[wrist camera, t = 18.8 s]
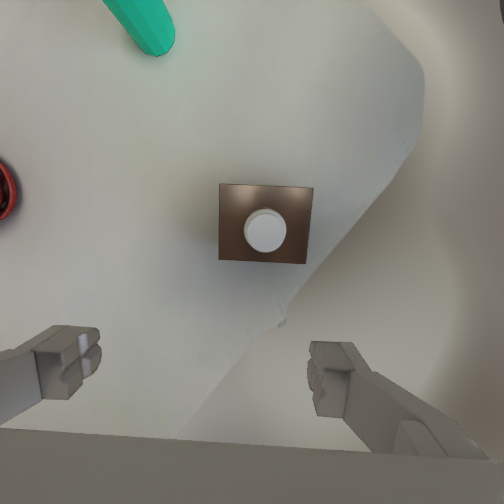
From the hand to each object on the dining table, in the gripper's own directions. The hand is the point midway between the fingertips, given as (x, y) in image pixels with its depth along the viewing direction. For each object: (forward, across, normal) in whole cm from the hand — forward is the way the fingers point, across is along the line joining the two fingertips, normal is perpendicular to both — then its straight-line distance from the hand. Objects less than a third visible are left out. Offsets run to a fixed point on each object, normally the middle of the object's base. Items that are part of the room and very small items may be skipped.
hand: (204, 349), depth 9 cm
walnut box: (+32, -3, -2) cm, 32 cm away
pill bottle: (+25, -3, -2) cm, 25 cm away
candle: (+32, +14, -28) cm, 45 cm away
